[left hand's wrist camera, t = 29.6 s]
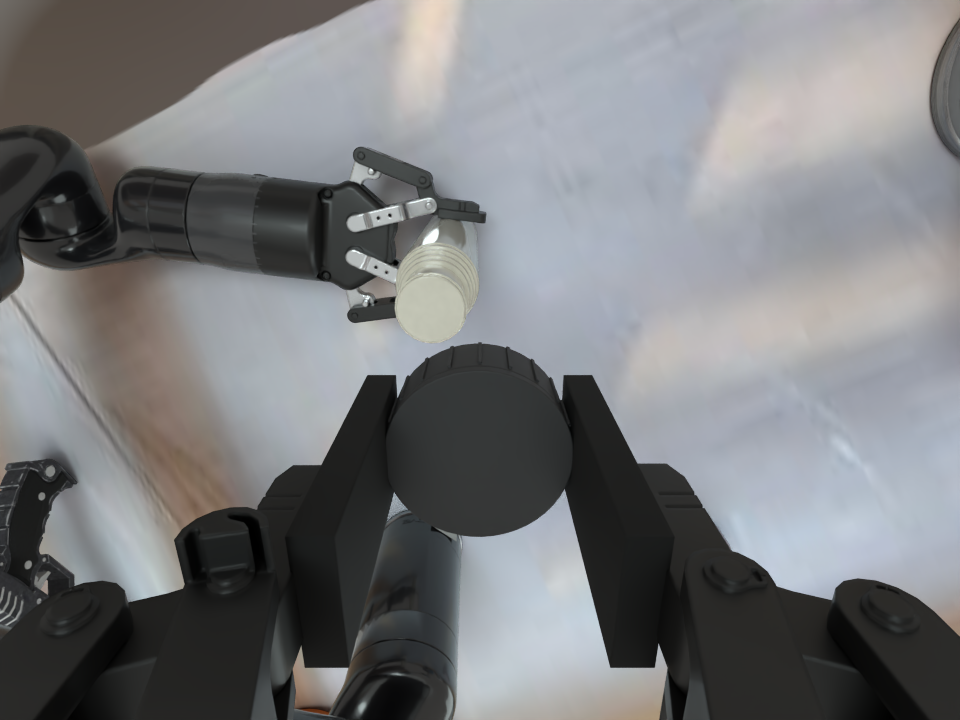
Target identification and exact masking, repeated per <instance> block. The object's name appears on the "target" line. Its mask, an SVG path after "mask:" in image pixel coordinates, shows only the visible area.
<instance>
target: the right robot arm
mask: <svg viewBox="0 0 960 720" xmlns="http://www.w3.org/2000/svg"><path fill="white" fill-rule="evenodd" d="M353 158H354V160H355V162H354V165H353V169H352V172H351V176H350V179H349V181H345V182H343V183H340V184H337V185H332V184H323V183H315V182H306V181H298V180H290V179H282V178H273V177H268V176H265V175H260V174H255V175H248V174H239V173H204V172H195V171H187V170H179V169H170V168H161V167H152V166H141V167H135V168H132V169H130V170H128V171H126V172H125V173H124V174H123V175H122V176H121V177H120V179H119V180H118V182H117V184H116V187H115V191H114V196H113V213H111V212H110V210H109V208H108V205H107V203H106V201H105V198H104V196H103V193H102V191H101V188H100V186H99V183H98V181H97V179H96V175H95V173H94V170H93V168H92V165H91V163H90V161H89V159H88V157H87V155H86V153H85V152H84V150H83V149H82V147H81V146H80V145H79V144H78V143H77V142H76V141H75V140H74V139H72V138H71V137H69V136H68V135H66V134H64V133H62V132H60V131H57V130H55V129H52V128H48V127H43V126H37V125H21V126H13V127H9V128H4V129H1V130H0V303H1V302H3V301H4V300H5V299H7V298H8V297H9V296H10V295H12V294H13V293H14V292H15V291H16V290H17V289H18V288H19V286H20V285H21V283H22V281H23V277H24V264H23V259H22V255H23V256H24V257H25V258H27V259H28V260H30V261H32V262H34V263H36V264H38V265H41V266H43V267H46V268H50V269H54V270H60V271H73V270H82V269H88V268H93V267H99V266H104V265H111V264H119V263H129V262H136V261H144V260H154V259H161V260H169V261H176V262H185V263H194V264H203V265H204V264H205V265H210V266H215V267H219V268H223V269H227V270H232V271H238V272H246V273H255V274H264V275H273V276H281V277H290V278H299V279H308V280H317V281H327V282H331V283H334V284H336V285H338V286H339V287H340V288H342V289H345V290H346V293H347V297H348V302H349V306H350V310H349V312H348V314H347V317H348V319H349V320H350V321H351V322H353V323H359V322H366V321H374V320H381V319H389V318H396V313H395V299H396V297H397V296H394V297H387V298H380V299H376V298H375V296H374V295H373V294H372V293H366V292H363V291H362V290H361V289H360V288H359V287H360V286H361V285H363V284H365V283H367V282H368V281H370V280H372V279H374V278H375V277H377V276H378V277H380V278H382V279H384V280H386V281H389V282H391V283H393V284H396V276H397V271H398V268H399V266H400V264H401V262H402V261H401V260H399V259H397V258H396V247H395V242H394V238H395V235H396V232H397V226H398V222H400V221H404V220H407V219H410V218H415V217H419V216H423V215H427V214H433V215H438V217H437V218H442V219H452V220H459V221H467V222H476V223H485V221H486V212H483V211H479V205H478V204H477V203H475V202H472V201H464V200H456V199H447V198H442V197H440V196H438V195H437V193H436V191H435V188H434V184H433V177H432V175H431V173H430V172H428V171H425V170H423V169H421V168H418V167H416V166H413V165H411V164H408V163H406V162H403V161H401V160H398V159H396V158H393V157H391V156H388V155H386V154H383V153H381V152H378V151H376V150H373V149H371V148H367V147H358V148H356V149H355V150H354V152H353ZM382 173H383V174H386V175H388V176H391V177H393V178H396V179H398V180H401V181H403V182H406V183H409V184H411V185H414V186H416V187H417V191H418V195H419V198H417V199H413V200H408V201H403V202H399V203H394V204H390V205H385V204H384V203H383V202H382V201H381V200H380V199H379V198H378V197H377V196H376V195H374V194H373V193H372V192H371V191H370V190H369V189H368V188H367V187H366V186H364V185H363V183H364V181H365V180H366V179H372V180H374V179H378V178H380V177H381V175H382ZM392 264H393V265H392ZM386 271H388V273H387V272H386ZM461 554H462V537H461V535H457V534H453V533H449V532H446V531H443V530H440V529H437V528H435V527H433V526H431V525H429V524H427V523H425V522H424V521H422V520H421V519H419V518H418V517H416V516H415V515H414V514H413V513H412V512H411V511H409V510H407V511H404V512H401V513H399V514H397V515H395V516H394V517H392V518H391V519H390V520H389V521H388V522H387V523H386V525H385V529H384V533H383V537H382V541H381V545H380V549H379V553H378V557H377V561H376V564H375V568H374V572H373V576H372V580H371V584H370V588H369V592H368V596H367V600H366V604H365V608H364V612H363V615H362V619H361V623H360V627H359V631H358V635H357V639H356V643H355V647H354V651H353V655H352V659H351V663H350V666H349V668H348V671H347V675H346V679H345V682H344V685H343V687H342V689H341V691H340V693H339V695H338V697H337V698H336V700H335V702H334V704H333V706H332V708H331V710H330V712H329V714H328V715H324V714H318V713H313V712H307V711H302V710H298V709H294V715H293V720H452V719H453V716H454V713H455V708H456V698H457V664H458V628H459V598H460V570H461ZM12 628H13V627H10V626H6V625H2V624H0V640H1V639H2V638H3V637H4V636H5V635H6V634H7V633H8V632H9V631H10V630H11V629H12Z"/></svg>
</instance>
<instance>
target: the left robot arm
mask: <svg viewBox="0 0 960 720" xmlns="http://www.w3.org/2000/svg"><path fill="white" fill-rule="evenodd" d="M931 106H932V114H933V119H934V123H935V126H936V129H937V131H938V133H939V135H940V137H941V139H942V140H943V142H944V143H945V145H946V146H947V147H948V148H949V149H950V150H951V151H952V152H953V153H954V154H955V155H956V156H958V157H959V158H960V20H959V22H958V23H957V24H956V26H955V27H954V29H953V31H952V32H951V34H950V35H949V37H948V39H947V41H946V43H945V45H944V47H943V49H942V52H941V54H940V57H939V59H938V62H937V65H936V69H935V73H934V77H933V83H932V93H931ZM396 398H397V385H396V375H367V377H366V379H365V381H364V383H363V385H362V387H361V389H360V391H359V393H358V395H357V397H356V399H355V401H354V403H353V405H352V407H351V408H350V410H349V412H348V414H347V416H346V418H345V420H344V422H343V424H342V426H341V428H340V430H339V432H338V434H337V436H336V438H335V440H334V442H333V444H332V446H331V448H330V449H329V451H328V453H327V455H326V457H325V459H324V461H323V463H322V465H293V466H292V467H290V468H289V469H288V470H286V471H285V472H284V473H282V474H281V475H280V476H278V477H277V478H276V479H275V480H274V482H273V483H272V485H271V486H270V488H269V490H268V491H267V493H266V497H263V499H262V501H261V502H260V504H259V505H258V509H257V510H255V509H252V508H248V507H233V508H227V509H222V510H218V511H213V512H211V513H209V514H206V515H204V516H202V517H200V518H197V519H196V520H194V521H193V522H191V523H190V524H189V525H187V526H186V527H184V528H183V529H182V530H181V532H180V533H179V534H178V536H177V537H176V538H175V540H174V542H175V546H176V550H177V554H178V558H179V562H180V566H181V571H182V575H183V579H184V583H185V585H184V588H183V589H181V590H177V591H174V592H171V593H168V594H163V595H159V596H155V597H150V598H146V599H142V600H137V601H133V602H129V603H128V601H127V597H126V594H125V590H123V589H122V588H121V587H120V586H119V585H118V584H117V583H112V582H106V581H97V582H88V583H83V584H80V585H77V586H74V587H70V588H67V589H64V590H62V591H60V592H58V593H57V594H55V595H53V596H51V597H49V598H47V599H45V600H43V601H42V602H41V603H40V604H38V605H37V606H36V607H34V608H33V609H32V610H31V611H29V612H28V613H27V614H26V615H25V616H24V617H23V618H22V619H21V620H20V621H19V622H18V623H17V624H16V625H15V626H14V627H13V628H12V629H11V630H10V631H9V632H8V633H7V634H6V635H5V636H4V637H3V638H2V639H1V640H0V720H293V715H294V705H295V694H296V689H295V682H294V675H293V666H294V664H295V661H296V658H297V655H298V653H299V650H300V647H301V645H302V652H303V658H304V665H305V668H349V666H350V663H351V659H352V655H353V651H354V647H355V643H356V639H357V635H358V631H359V627H360V623H361V619H362V615H363V612H364V608H365V604H366V600H367V596H368V592H369V588H370V584H371V580H372V576H373V572H374V568H375V564H376V561H377V557H378V553H379V549H380V545H381V541H382V537H383V533H384V529H385V525H386V521H387V517H388V514H389V510H390V506H391V502H392V498H393V494H394V490H393V488H392V486H391V484H390V483H389V479H388V466H387V452H386V433H387V429H388V426H389V425H388V420H389V417H390V414H391V411H392V408H393V405H394V402H395V399H396ZM562 400H563V403H564V406H565V409H566V412H567V415H568V418H569V421H570V424H571V427H569V429H570V432H571V436H572V441H573V460H572V470H571V474H570V478H569V480H568V482H567V485H566V487H565V491H566V495H567V499H568V503H569V507H570V511H571V515H572V519H573V523H574V527H575V531H576V534H577V538H578V542H579V546H580V550H581V554H582V558H583V562H584V566H585V570H586V574H587V578H588V582H589V585H590V589H591V593H592V597H593V601H594V605H595V609H596V613H597V617H598V621H599V625H600V629H601V633H602V636H603V640H604V644H605V648H606V652H607V656H608V660H609V664H610V668H655V662H656V656H657V650H658V643H659V645H660V648H661V651H662V654H663V656H664V659H665V662H666V665H667V667H668V669H667V675H666V681H665V687H664V694H663V700H662V706H661V712H660V719H659V720H960V636H959V635H957V634H956V633H955V632H954V631H953V630H952V629H951V628H950V627H949V626H948V625H947V624H946V623H945V622H944V621H943V620H942V619H941V618H940V617H939V616H938V615H937V614H936V613H935V612H934V611H933V610H932V609H930V608H929V607H928V606H926V605H925V604H924V603H923V602H921V601H920V600H919V599H918V598H916V597H914V596H912V595H910V594H908V593H906V592H905V591H903V590H901V589H899V588H897V587H894V586H891V585H888V584H885V583H882V582H879V581H875V580H866V579H852V580H847V581H843V582H842V583H841V584H840V585H839V586H838V587H836V589H835V592H834V596H833V599H832V600H828V599H824V598H819V597H815V596H811V595H806V594H802V593H798V592H793V591H790V590H786V589H783V588H780V587H777V586H776V584H775V582H774V581H773V579H772V578H771V576H770V575H769V573H768V572H767V571H766V570H765V569H764V568H762V567H761V566H760V565H759V564H758V563H756V562H755V561H754V560H751V559H749V558H747V557H745V556H743V555H741V554H739V553H736V552H733V551H731V549H730V547H729V546H728V544H727V543H726V541H725V540H724V538H723V536H722V535H721V533H720V532H719V530H718V529H717V527H716V526H715V524H714V522H713V521H712V519H711V518H710V516H709V515H708V513H707V511H706V510H705V508H703V507H702V504H701V502H700V500H699V499H698V497H697V496H696V495H694V491H693V489H692V488H691V486H690V485H689V483H688V482H687V480H686V478H685V477H684V476H683V475H681V474H680V473H679V472H677V471H676V470H674V469H673V468H672V467H670V466H669V465H668V464H637V462H636V460H635V458H634V456H633V454H632V452H631V450H630V448H629V446H628V444H627V442H626V440H625V439H624V437H623V435H622V433H621V431H620V429H619V427H618V425H617V423H616V421H615V419H614V417H613V415H612V413H611V411H610V409H609V407H608V405H607V403H606V401H605V399H604V397H603V396H602V394H601V392H600V390H599V388H598V386H597V384H596V382H595V380H594V378H593V376H592V375H564V379H563V396H562Z"/></svg>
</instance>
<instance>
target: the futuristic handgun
mask: <svg viewBox="0 0 960 720" xmlns="http://www.w3.org/2000/svg"><path fill="white" fill-rule="evenodd" d="M5 470H7V472H6V474H5V476H4V478H3V480H2V482H1V485H0V489H2V490H1V491H0V624H2V625H6V626H10V627H14V626H15V625H16V624H17V623H18V622H19V621H20V620H21V619H22V618H23V617H24V616H25V615H26V614H27V613H28V612H29V611H31V610H32V609H33V608H34V607H36V606H37V605H38V604H40V603H41V602H42V601H43V600H45V599H47V598H49V597H51V596H53V595H55V594H57V593H58V592H60V591H62V590H64V589H67V588H70V587H74V574H73V573H72V572H70V571H69V570H68V569H66V568H65V567H64V566H63V565H61V564H60V563H59V562H58V561H56V560H55V559H54V558H52V557H51V556H50V555H49V554H43V555H41V554H40V553H39V546H40V544H41V541H42V539H43V537H42V535H43V533H45V525H46V522H47V519H48V517H49V516H50V514H49V511H51V508H52V503H53V501H54V499H55V498H56V497H57V496H58V494H59V492H60V491H63V490H64V489H66V488H71V487H72V486H73V484H77V482H76V481H75V480H74V479H73V478H72V477H71V476H70V475H69V474H68V473H67V472H66V471H65V470H64V469H63V468H62V467H61V466H60V465H59V464H58V463H57V462H56V461H54V460H52V459H45V460H37V461H25V462H16V463H8V464H7V465H6V467H5ZM46 579H47V580H48V595H47V594H46V593H44V592H43V591H41V588H42V586H43V584H44V583H45V581H46Z"/></svg>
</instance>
